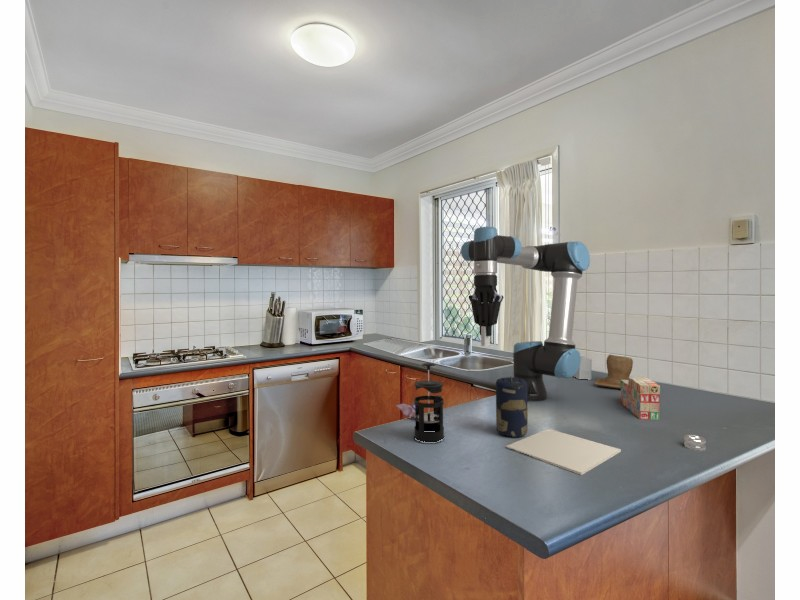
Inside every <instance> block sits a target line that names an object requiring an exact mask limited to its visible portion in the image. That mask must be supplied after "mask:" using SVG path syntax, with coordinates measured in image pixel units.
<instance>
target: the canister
mask: <svg viewBox="0 0 800 600" xmlns="http://www.w3.org/2000/svg"><path fill="white" fill-rule="evenodd" d="M528 415H529V414H528V401H527V383H526V381H525V380H523V379H519V378H514V377H512V376H509V377H507V376H506V377H499V378H498V379H496V382H495V420H496V421H495V422H496V423H495V426H496V427H495V428H496V431H497V432H498V434H500V435H502V436H505V435H506V437H511V436H512V438H514V437H522V436H525V435H526V434H527V433H528V427H529V426H528V422H529V421H528V417H529V416H528Z"/></svg>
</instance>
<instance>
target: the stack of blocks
mask: <svg viewBox="0 0 800 600" xmlns="http://www.w3.org/2000/svg"><path fill="white" fill-rule="evenodd" d="M620 403H621V404H622V405H623V406H624V407H625V406H626V409H627V410H629V411H630V412H631V413H633V415H634V416H635V417H637V418H638V419H639V420H643V421H644V420H645V421H646V420H649V421H660V414H661V413H660V403H661V385H659V384H658V383H657V382H655V381H653V380H651V379H650V378H648V377H639V376H637V377H636V376H635V377H634V376H629V377H628V380H621V389H620Z"/></svg>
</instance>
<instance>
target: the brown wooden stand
mask: <svg viewBox="0 0 800 600" xmlns="http://www.w3.org/2000/svg"><path fill="white" fill-rule="evenodd" d="M605 364H606V369H607V370H606V371H607V376H606V377H605V378H597V379H595V381H594V385H595V386H597V387H603V388H608V389H616V390H617V389H619V390H621V380H628V377H631V376H630V375H631V373H632V371H633V367H634V366H633V365H634V361H633V358H631V357H630V356H629V357H628V356H621V355H614V354H608V355H607V358H606V363H605Z"/></svg>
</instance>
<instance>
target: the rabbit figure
mask: <svg viewBox="0 0 800 600" xmlns="http://www.w3.org/2000/svg"><path fill="white" fill-rule="evenodd" d="M395 407H397V408H398V409H399V410H400V411H401V412H402V413H403V414H402V415H404V416H405V417H407V418H411V417H412V418H414V417H415V404H414V402H413V403H411V405H409V404H406V403H399V404H396V405H395Z"/></svg>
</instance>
